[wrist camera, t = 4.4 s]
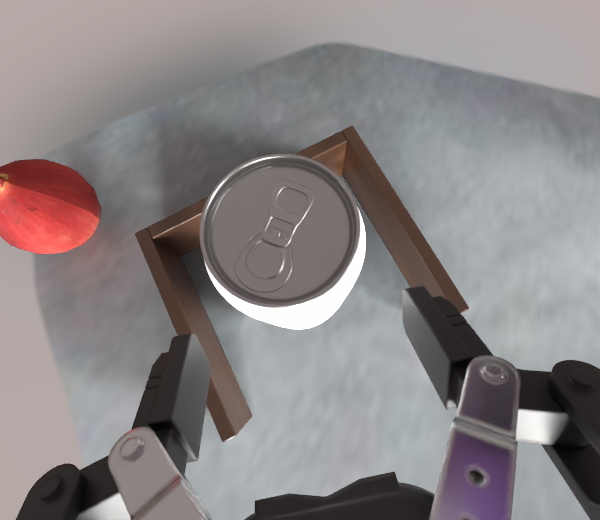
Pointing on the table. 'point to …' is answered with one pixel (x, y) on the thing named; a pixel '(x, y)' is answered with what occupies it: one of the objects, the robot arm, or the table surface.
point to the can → (283, 240)
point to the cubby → (185, 237)
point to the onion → (46, 206)
